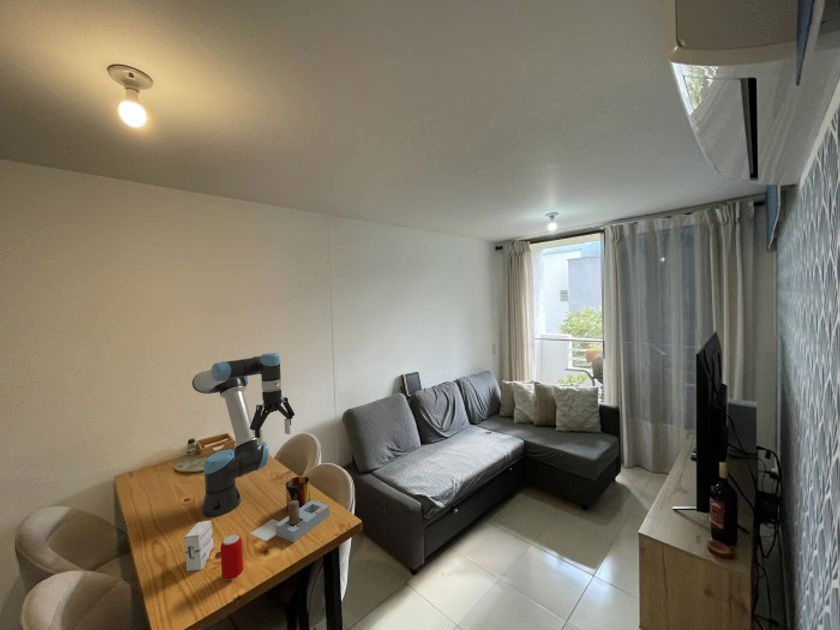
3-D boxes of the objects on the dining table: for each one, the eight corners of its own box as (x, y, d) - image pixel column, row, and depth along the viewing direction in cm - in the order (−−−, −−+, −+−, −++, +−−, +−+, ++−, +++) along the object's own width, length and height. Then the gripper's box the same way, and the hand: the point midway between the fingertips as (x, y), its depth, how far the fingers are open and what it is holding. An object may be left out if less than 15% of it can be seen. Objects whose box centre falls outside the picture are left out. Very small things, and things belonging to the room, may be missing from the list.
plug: (287, 535, 128) (285, 504, 128) (295, 529, 132) (294, 499, 132) (294, 538, 127) (292, 506, 126) (302, 532, 130) (300, 501, 130)
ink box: (200, 553, 121) (198, 521, 120) (214, 552, 121) (212, 519, 121) (185, 572, 112) (183, 537, 112) (201, 570, 112) (199, 535, 112)
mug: (294, 523, 135) (293, 494, 135) (284, 508, 146) (282, 481, 146) (317, 513, 142) (316, 485, 141) (305, 500, 152) (304, 474, 152)
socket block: (276, 537, 128) (275, 523, 127) (312, 511, 143) (311, 499, 143) (294, 545, 123) (293, 531, 123) (329, 517, 138) (329, 505, 138)
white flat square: (250, 536, 129) (249, 533, 129) (272, 521, 138) (272, 518, 138) (266, 544, 124) (266, 541, 124) (289, 528, 133) (289, 525, 133)
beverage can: (233, 566, 114) (231, 531, 113) (247, 569, 112) (246, 534, 112) (217, 580, 108) (215, 543, 108) (232, 584, 106) (230, 547, 106)
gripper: (249, 397, 130) (252, 452, 130) (301, 384, 152) (303, 430, 152) (238, 396, 134) (241, 449, 134) (290, 382, 155) (292, 428, 156)
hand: (274, 439), depth 143 cm, fingers open, 13 cm apart
